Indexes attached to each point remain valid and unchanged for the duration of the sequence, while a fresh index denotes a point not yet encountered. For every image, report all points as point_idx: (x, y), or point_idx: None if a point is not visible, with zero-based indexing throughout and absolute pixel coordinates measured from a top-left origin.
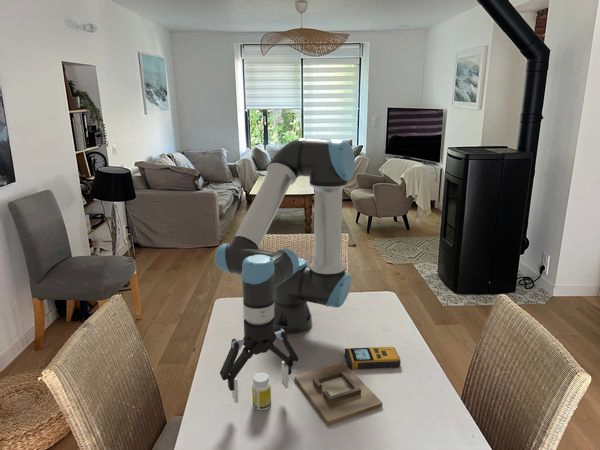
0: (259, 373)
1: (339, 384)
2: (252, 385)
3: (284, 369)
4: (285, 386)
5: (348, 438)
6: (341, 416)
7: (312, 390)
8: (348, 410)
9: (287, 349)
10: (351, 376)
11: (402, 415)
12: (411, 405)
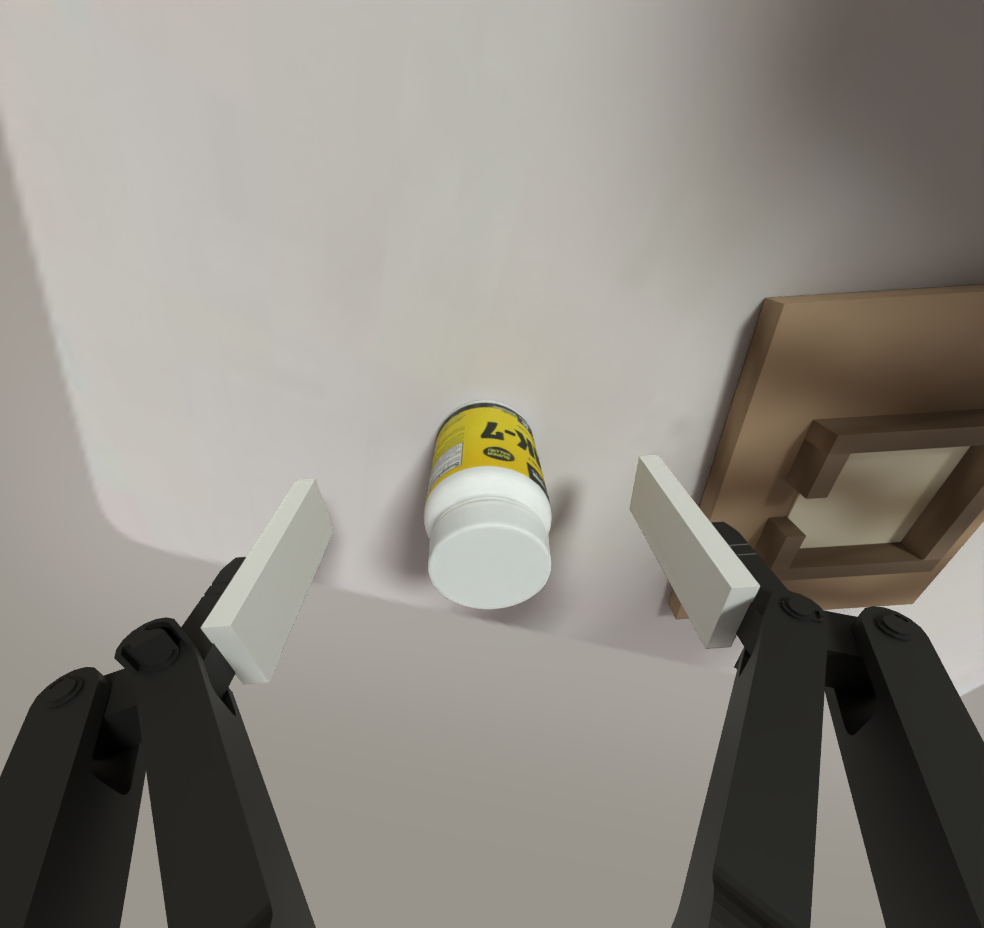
0: (493, 535)
1: (908, 475)
2: (426, 520)
3: (692, 597)
4: (634, 515)
5: (684, 647)
6: None
7: (762, 469)
8: None
9: (881, 847)
10: None
11: None
12: (972, 607)
